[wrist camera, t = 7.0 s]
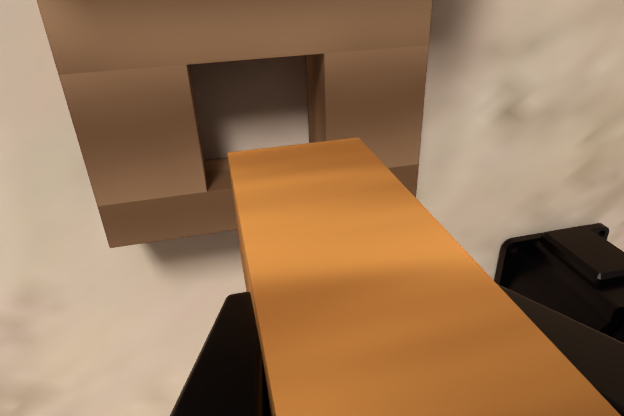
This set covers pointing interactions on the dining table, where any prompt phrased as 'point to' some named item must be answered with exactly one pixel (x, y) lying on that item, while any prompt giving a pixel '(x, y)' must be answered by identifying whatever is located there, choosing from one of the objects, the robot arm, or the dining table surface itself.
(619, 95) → the dining table surface
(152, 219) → the socket board
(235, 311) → the robot arm
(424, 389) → the peg
